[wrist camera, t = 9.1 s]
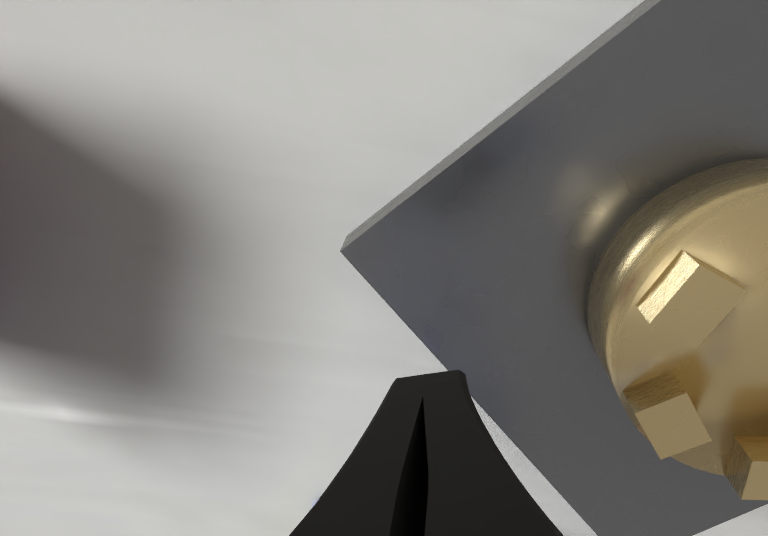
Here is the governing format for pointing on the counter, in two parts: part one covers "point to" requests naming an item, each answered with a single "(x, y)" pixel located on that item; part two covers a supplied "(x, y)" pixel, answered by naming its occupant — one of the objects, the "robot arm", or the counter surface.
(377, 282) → the plate
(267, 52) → the counter surface
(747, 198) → the tan round handled piece
